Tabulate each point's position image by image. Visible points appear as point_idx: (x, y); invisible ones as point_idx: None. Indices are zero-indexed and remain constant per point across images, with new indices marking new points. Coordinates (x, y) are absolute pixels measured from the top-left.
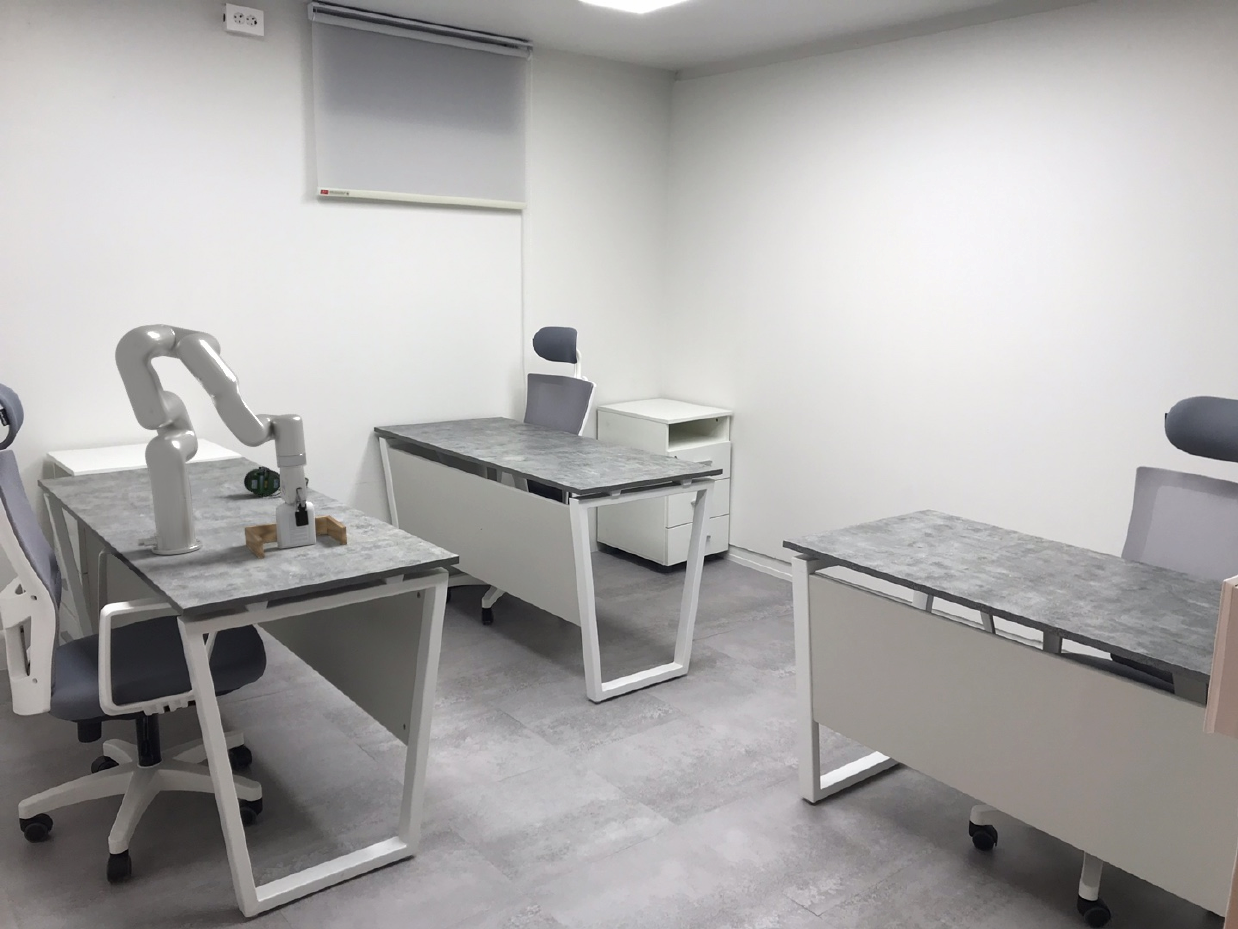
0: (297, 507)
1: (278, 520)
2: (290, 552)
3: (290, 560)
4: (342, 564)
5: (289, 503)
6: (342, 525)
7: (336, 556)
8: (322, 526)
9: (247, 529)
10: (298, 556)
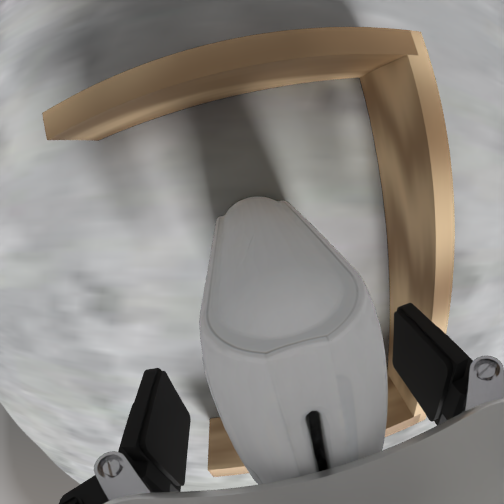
0: (107, 490)
1: (226, 270)
2: (154, 256)
3: (44, 256)
4: (22, 382)
5: (113, 502)
6: (239, 472)
7: (83, 389)
8: (400, 381)
9: (361, 29)
10: (88, 286)
